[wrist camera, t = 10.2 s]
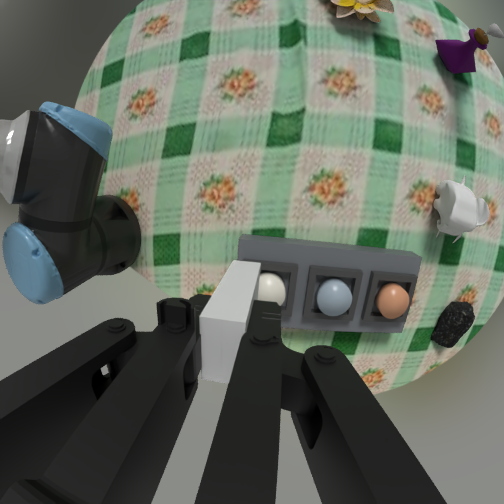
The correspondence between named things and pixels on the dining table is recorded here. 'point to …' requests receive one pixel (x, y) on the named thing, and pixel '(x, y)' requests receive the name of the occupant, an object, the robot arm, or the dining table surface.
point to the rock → (453, 323)
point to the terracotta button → (392, 300)
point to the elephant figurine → (459, 209)
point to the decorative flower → (363, 8)
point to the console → (333, 266)
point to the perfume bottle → (465, 49)
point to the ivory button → (271, 288)
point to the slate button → (333, 297)
